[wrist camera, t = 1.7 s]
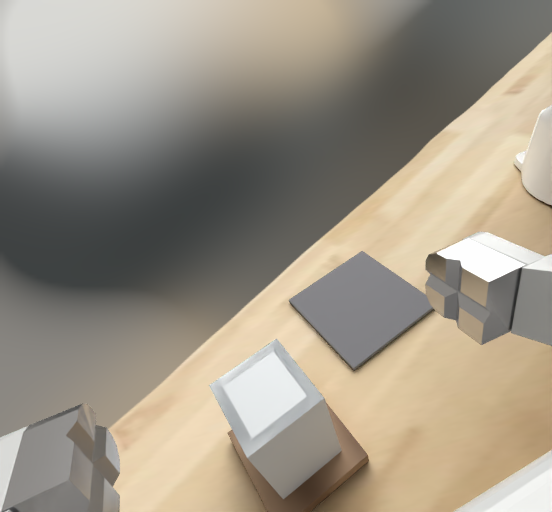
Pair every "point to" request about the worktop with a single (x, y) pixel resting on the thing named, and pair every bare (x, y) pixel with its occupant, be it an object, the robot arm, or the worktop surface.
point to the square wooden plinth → (319, 484)
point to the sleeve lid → (277, 417)
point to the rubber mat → (361, 308)
